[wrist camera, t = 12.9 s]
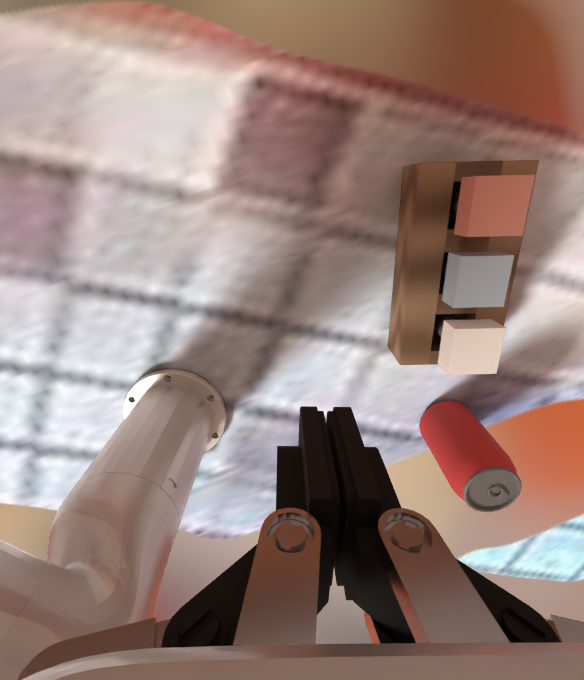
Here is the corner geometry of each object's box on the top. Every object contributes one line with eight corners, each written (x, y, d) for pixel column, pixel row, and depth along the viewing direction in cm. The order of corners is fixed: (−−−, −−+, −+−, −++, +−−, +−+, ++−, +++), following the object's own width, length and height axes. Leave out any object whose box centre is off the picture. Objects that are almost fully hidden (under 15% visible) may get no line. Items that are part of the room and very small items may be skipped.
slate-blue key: (464, 286, 38) (503, 306, 31) (423, 287, 38) (452, 308, 31) (471, 244, 36) (514, 255, 29) (428, 245, 36) (460, 256, 29)
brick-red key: (476, 228, 35) (522, 235, 28) (432, 229, 35) (466, 236, 28) (484, 179, 33) (535, 174, 26) (437, 180, 33) (476, 176, 27)
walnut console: (472, 344, 42) (495, 362, 37) (387, 346, 42) (400, 364, 37) (505, 165, 35) (539, 160, 30) (403, 167, 35) (420, 162, 30)
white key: (459, 342, 39) (496, 373, 32) (419, 343, 39) (447, 374, 32) (466, 304, 37) (506, 328, 31) (424, 304, 37) (455, 329, 31)
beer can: (448, 448, 47) (497, 525, 36) (407, 429, 46) (445, 502, 35) (479, 410, 45) (542, 480, 34) (438, 389, 44) (488, 454, 33)
